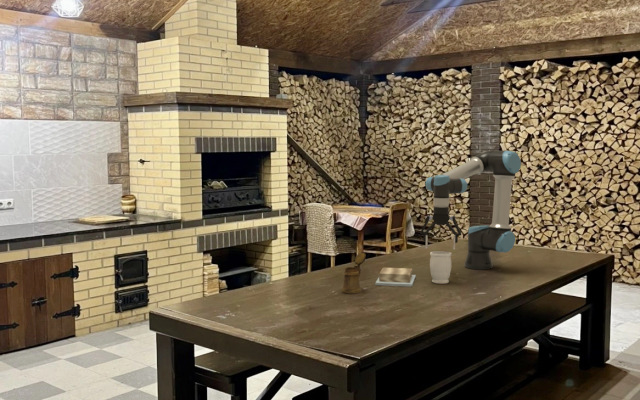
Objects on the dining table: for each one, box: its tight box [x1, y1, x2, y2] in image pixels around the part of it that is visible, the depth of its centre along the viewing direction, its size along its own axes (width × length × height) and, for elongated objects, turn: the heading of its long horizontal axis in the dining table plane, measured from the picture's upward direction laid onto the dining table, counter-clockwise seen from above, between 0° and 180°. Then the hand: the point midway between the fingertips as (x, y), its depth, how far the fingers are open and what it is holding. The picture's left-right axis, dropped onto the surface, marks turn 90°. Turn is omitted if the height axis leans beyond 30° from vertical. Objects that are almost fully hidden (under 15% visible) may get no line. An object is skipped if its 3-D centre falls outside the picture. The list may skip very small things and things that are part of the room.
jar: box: [429, 250, 452, 285], centre depth 334 cm, size 11×10×15 cm
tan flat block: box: [378, 267, 413, 283], centre depth 337 cm, size 15×15×4 cm
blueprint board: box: [374, 274, 417, 288], centre depth 338 cm, size 18×22×1 cm
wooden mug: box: [341, 251, 367, 294], centre depth 317 cm, size 9×14×18 cm, turn 135°
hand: (440, 248), depth 333 cm, fingers open, 13 cm apart
